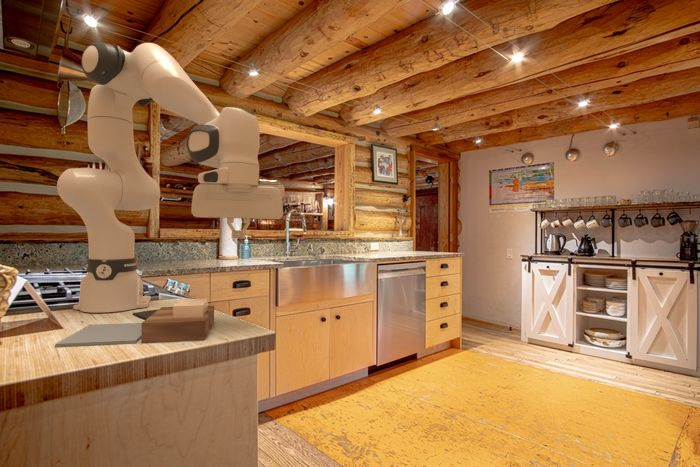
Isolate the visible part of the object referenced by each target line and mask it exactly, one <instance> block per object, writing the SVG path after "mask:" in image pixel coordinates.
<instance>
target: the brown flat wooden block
mask: <svg viewBox="0 0 700 467" xmlns="http://www.w3.org/2000/svg"><path fill="white" fill-rule="evenodd" d="M157 310H158V311H156V312H155V313H154V314H152V315H151V316H150V317H149V318H147V319H146V320H143V321H142V322H141V323H142V329H141V339H140V343H141V344H148V343H149V344H150V343H167V342H168V343H170V342H173V343H174V342H190V341H191V342H192V341H206V339H207V337H208V334H209V333H210V330H211V328H212V326H213V325H214V323H215V305H208V310H207V311H206V313H205V314H204V316H203V317H179V318H173V306H162V307H160V308H158V309H157Z"/></svg>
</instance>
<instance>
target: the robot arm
mask: <svg viewBox="0 0 700 467" xmlns="http://www.w3.org/2000/svg"><path fill="white" fill-rule="evenodd" d="M81 55H82V56H81V60H80V61H81V62H80V64H81V68H82V71H83V74H84V75H85V76H86V78H88V79H89V80H90V81H92V82H94V83H96V85H94V86H93V87H92V88H91V90H90V94H89V98H88V104H87V144H88V147H89V150H91V152H92V153H93V154H94V155H95V156H97V157H98V158H99V159H102V160H103V161H104V162H105V164H107V166H108V167H109V170H108V169H101V168H100V169H99V168H91V167H75V168H74V167H73V168H67V169H66V170H64V171H63V172H62V173H61V174H60V176H59V178H58V179H57V183H56V189H57V194H58V196H59V197H60V199H61V200H62V201H63V202H64V203H65V204H66V205H67V206H69V207H70V208H72V209H73V210H74V211H75V212H76V213H77V214H78V215H79V217H80V218H81V220H82V221H83V223H84V225H85V227H86V231H87V232H86V233H87V239H88V240H87V241H88V258H87V259H86V264H85V267H86V272H87V274H86V275H85V276H84V277H82V279H81V280H80V288H79V296H78V304H74V305H73V307H72V310H76V311H77V310H78V311H81V312H84V313H95V314H96V313H115V312H125V311H129V310H133V309H134V310H135V309H143V308H148V307H149V305H150V303H151V301H152V300H151V299H152V297H151V295H144V294H145V291H144V281H143V280H142V279H141V277H140V275H139V273H138V272H137V269H138V263H139V262H138V258H137V257H135V246H136V245H135V240H136V234H135V232H134V230H133V229H132V227H131V226H129V225H127V224H126V223H123V222H121V221H119V219H118V218H117V217H116V213H115V210H118V211H133V212H138V211H145V210H151V209H154V208H155V207H156V205H157V204H158V203H159V201H160V199H161V189H160V186H159V184H158V182H157V180H156V179H154V178H153V177H151V176H150V175H149V174H148V172H146V170H145V169H144V167H143V166H142V164H141V163H140V161H139V158H138V156H137V152H136V148H135V139H134V137H135V136H134V122H133V121H134V117H133V108H134V106H135V104H136V103H137V104H138V105H140V106H141V107H146V106H147V105H149V104H154V103H155V104H157V105H158V106H159V107H161V108H162V109H163V110H164V109H165V110H166V111H168V112H171V113H172V114H175V115H178V116H181V117H183V118H186V119H188V120H189V121H192V122H194V123H196V124H197V125H196V126H194V127H193V128H192V129H191V130H190V132H189V133H188V135H187V138H186V150H187V154H188V156H189V157H190V159H191V160H192V161H193V162H195V163H196V164H199V165H203V166H207V167H211V168H216V169H213V170H208V171H204V172H200V173H199V174H198V175H197V181H198V183H199V184H198V185H196V187H194V190H193V193H192V197H191V198H192V199H191V208H190V209H191V214H192V215H193V217H194V218H210V219H211V218H215V219H217V218H219V219H226V224H227V226H228V227H229V229H230V231H231V239H245V238H246V231H247V229H248V228H249V226H250V224H251V219H256V220H257V219H258V220H261V219H262V220H280V219H282V218H283V216H284V206H283V199H284V197H285V195H286V194H285V192H286V191H285V190H286V188H285V185H284V184H283V183H282V182H281V181H279V180H273V179H272V180H269V179H260V162H259V159H258V155H259V151H260V146H261V145H260V144H261V143H260V125H259V121H258V117H257V115H256V114H255V113H254V112H252V111H250V110H248V109H245V108H241V107H239V106H233V105H232V106H225V107H223V108H222V109H221V111H220V110H219V109H218V108H217V106H215V104H213V103H212V102H211V100H210V99H209V98H208V97H207V96H206V95H205V94H204V93H203V92H202V90H201V89H200V88H199V87H198V86H197V85H196V83H194V81H193V80H192V79H191V78H190V76H189V75H188V74H187V72H185V70H184V69H183V68H182V66H181V65H180V64H179V62H178V61H177V60H176V59H175V58H174V57H173V56H172V55H171V53H169V52H168V51H167V50H165V48H163V47H162V46H160V45H158V44H156V43H153V42H144V43H143V42H142V43H141V44H138V45H137V46H136V47H135V48H134V49H133V50H132V51H131V52H129V51H127V50H124V49H122V48H121V47H120V46H119V45H114V44H110V43H106V42H102V41H95V42H92V43H90V44H88V45H87V46H86V47H85V48H84V50H83V52H82V54H81ZM235 219H243V223H244V226H243V228H242V229H241V230H236V229H235V227H234V225H233V223H235V221H234V220H235ZM143 295H144V296H143Z"/></svg>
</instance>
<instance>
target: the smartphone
mask: <svg viewBox="0 0 700 467" xmlns="http://www.w3.org/2000/svg"><path fill="white" fill-rule="evenodd" d="M158 310H159V309H152V310H143V311H138V312H133V313H132V316H134V317H136V318H138V319H140V320H143V321H145V320H146V319H147V318H149V317H150V316H151V315H152V314H154V313H155V312H156V311H158Z"/></svg>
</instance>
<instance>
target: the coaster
mask: <svg viewBox="0 0 700 467" xmlns="http://www.w3.org/2000/svg"><path fill="white" fill-rule="evenodd" d="M208 306H209V298H187V299H186V298H183V299H179V300H178V301H177V302H176V303H175V304H174V305H173V306H172V307H173V318H179V317H203V316H204V314H205V313H206V311H207V310H208Z"/></svg>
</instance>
